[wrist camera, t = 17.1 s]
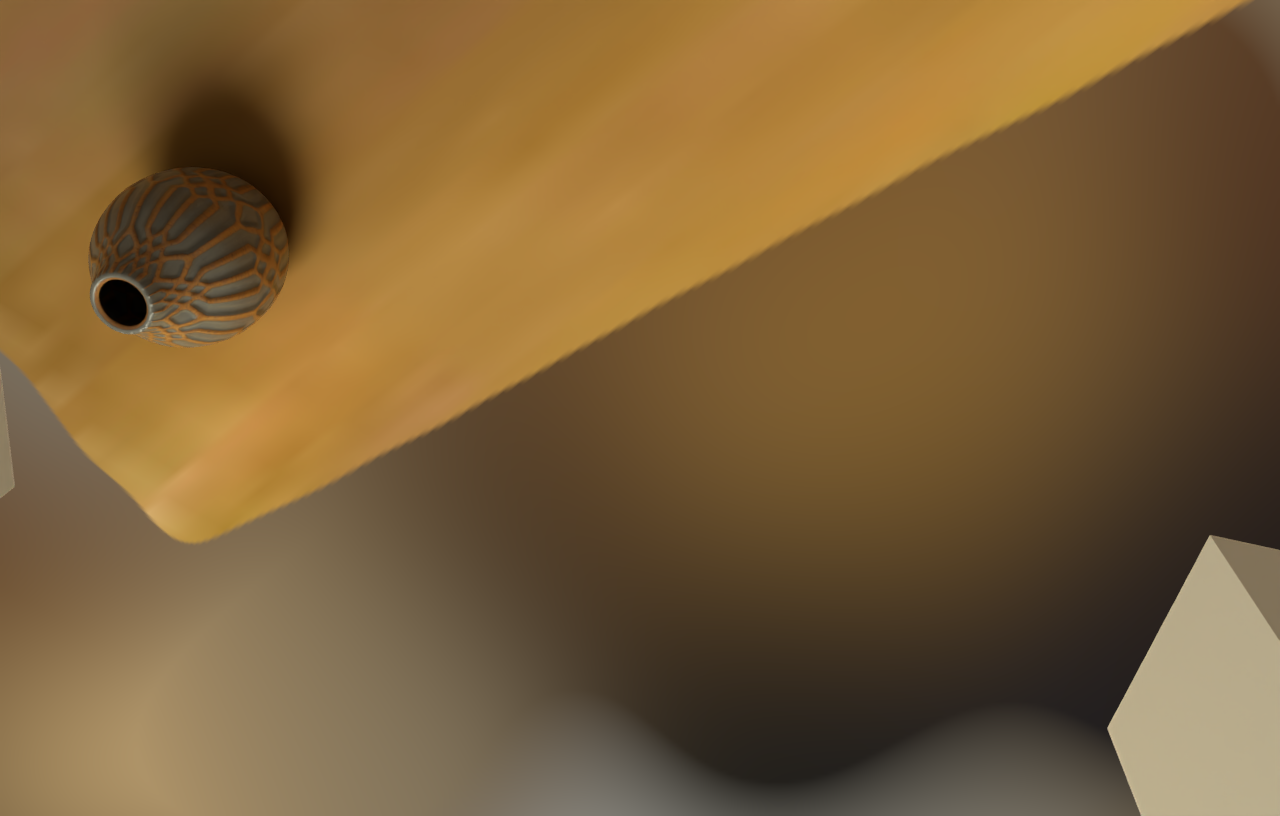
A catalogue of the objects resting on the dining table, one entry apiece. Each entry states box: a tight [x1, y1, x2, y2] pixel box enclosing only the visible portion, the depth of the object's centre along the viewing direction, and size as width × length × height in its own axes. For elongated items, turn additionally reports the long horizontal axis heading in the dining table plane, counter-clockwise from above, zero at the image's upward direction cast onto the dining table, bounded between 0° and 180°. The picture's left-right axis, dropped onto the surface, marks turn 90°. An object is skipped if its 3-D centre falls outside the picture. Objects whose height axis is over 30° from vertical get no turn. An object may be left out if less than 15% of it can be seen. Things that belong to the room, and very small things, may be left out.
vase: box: [89, 167, 289, 348], centre depth 41 cm, size 7×7×9 cm
